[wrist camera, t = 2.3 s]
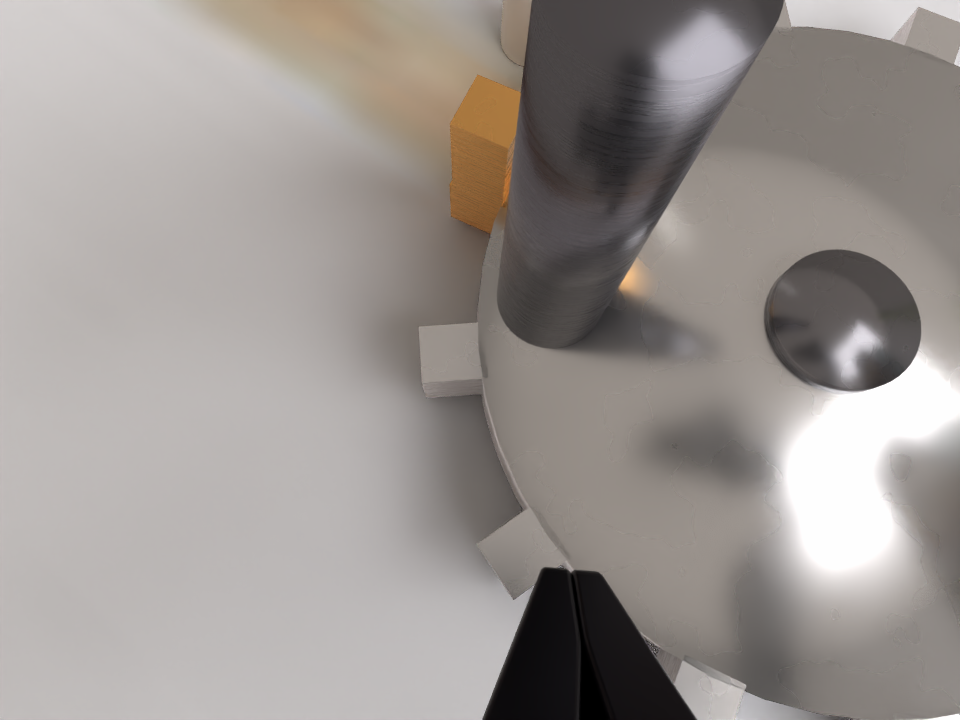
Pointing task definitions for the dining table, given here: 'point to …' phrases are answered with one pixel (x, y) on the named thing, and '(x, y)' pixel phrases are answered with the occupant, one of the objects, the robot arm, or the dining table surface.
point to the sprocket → (727, 340)
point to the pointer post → (515, 29)
